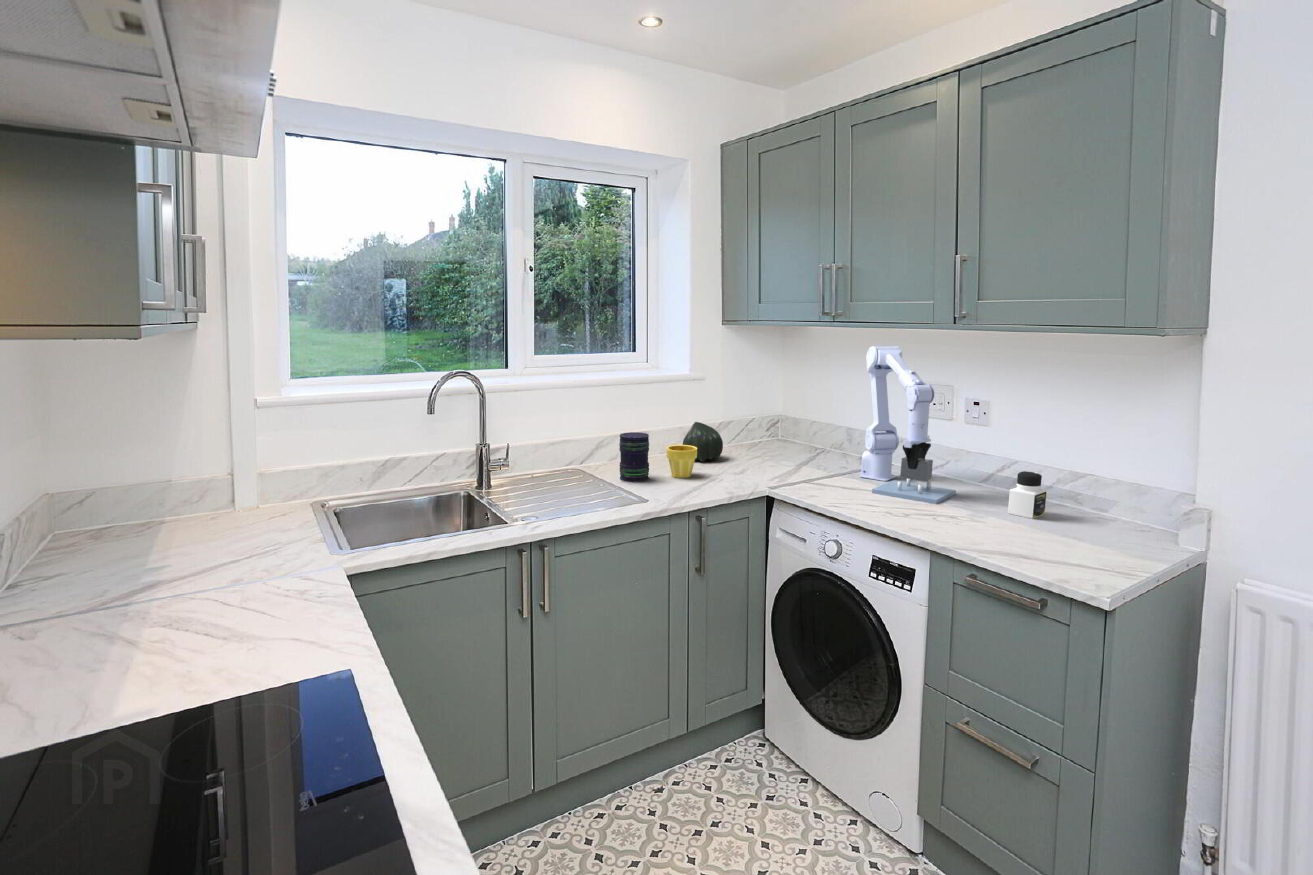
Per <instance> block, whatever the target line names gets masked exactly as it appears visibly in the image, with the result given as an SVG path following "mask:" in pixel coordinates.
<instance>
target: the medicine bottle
mask: <svg viewBox="0 0 1313 875" xmlns="http://www.w3.org/2000/svg"><path fill="white" fill-rule="evenodd" d="M1042 479H1043V478H1042V474H1040V473H1039V472H1036V471H1029V470H1024V471H1020V472H1018V473H1017V477H1016V487H1014V488H1011V489H1009V495H1008V506H1007V507H1008V508H1007V514H1008V515H1013V516H1018V517H1023V518H1026V519H1032V520H1033V519H1037V518H1040V517H1042V516H1044V515H1045V513H1046V503H1047V502H1046V500H1047V489H1041V488H1042Z"/></svg>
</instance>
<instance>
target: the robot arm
mask: <svg viewBox="0 0 1313 875" xmlns="http://www.w3.org/2000/svg"><path fill="white" fill-rule="evenodd" d="M865 361H866V370H867V373H869V376H870V377H869V378H870V389H871V390H870V392H871V402H872V403H871V405H872V406H871V407H872V420H873V423H872V424H871V425H869V426H868V427H867V428H866V430H865V439H864V446H865V448H866V449H867V450H864V452H863V453H862V456H861V467H860V470H861V471H860V475H859V477H860V478H863V479H864V478H865V479H869V480H870V479H871V480H877V481H881V482H887V481H890V480H892V479H893V480H894V479H895V478H896V477H897V476H896V475H892V471H893V470H892V469H893V468H892V467H893V466H892V465H893V453H895V451H896V450H897V449H898V447H899V444H900V439H899V435H898V431H897V427H896V426H894V425H893V424H892V423H891V422H890V412H889V398H888V382H887V380H888V379H887V376H888V374H889V373H891V372H894V373H896V375H897V376H898V380H897V381H898V383H899V384H900V386H901V387H902V388H903V390H904V391H905V397H906V401H907V409H909V410H908V425H907V426H908V427H907V437H906V439H905V440H904V444H903V445H902V451H903V452H904V455H905V457H906V458H907V463H908V468H909V469H916V467H917V463H918V458H923V459H926V456H927V454H928V451H929V449H930V448H931V447H932V444H931V442H932V439H931V438H930V435H929V434H928V433H929V419H930V404H931V403H932V402H933V401H934V399H935V389H934V387H933V386H932V384H931V383H926V382H924V381H923V380H922V379H921V378H920V376H919V375H918V374H917V373H916V370H914V369H909V367H908V366H907V365H906V363H905V362H904V359H903V351H902V350H901V348H900V347H899V346H897V345H895V346H870V347H869V348H868V350H867V352H866V360H865Z"/></svg>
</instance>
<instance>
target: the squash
mask: <svg viewBox="0 0 1313 875" xmlns="http://www.w3.org/2000/svg"><path fill="white" fill-rule="evenodd" d="M682 445H689V446H694V447H696V448H697V458H696V459H695V461H694V462H699V461H700V462H707V460H708V461H709V460H714V461H715V460H716V459H718V458H719V457H720V456H721V455H722V453H723V449H724V443H723V438H722V436H721V434H720V433H719V432H718V431H717V430H716V429H715V428H713V427H712V426H709V425H707V424H705V423H703V422H699V421H694V422H693V424H692V425H691V427H690V429H689V430H688V431H687V433H686V434H685V436H684V438H683V440H682Z"/></svg>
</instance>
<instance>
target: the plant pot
mask: <svg viewBox="0 0 1313 875" xmlns="http://www.w3.org/2000/svg"><path fill="white" fill-rule="evenodd" d="M666 458H667V459H668V462H669V468H670V473H671V474H670V475H671V477H672V478H677V479H678V478H679V479H686V478H690V477H691V476H692V473H693V468H694V464H695V462H696V461H695V459H696V458H697V448H696V447H694V446H689V445H683V444H674V445H669V446H667V447H666Z"/></svg>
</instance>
